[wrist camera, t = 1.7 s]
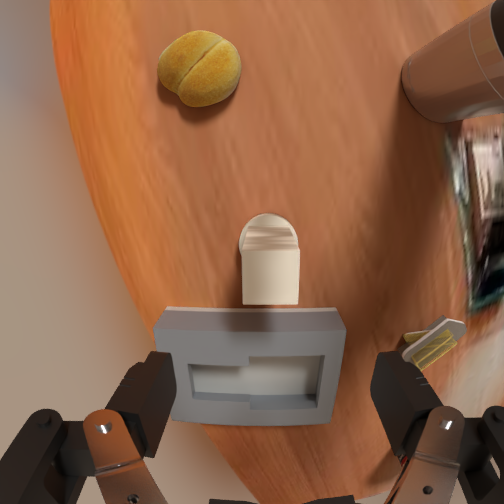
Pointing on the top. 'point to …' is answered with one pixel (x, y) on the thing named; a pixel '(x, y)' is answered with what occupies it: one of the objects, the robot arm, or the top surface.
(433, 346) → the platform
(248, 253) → the maple peg
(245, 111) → the top surface
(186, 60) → the bread roll
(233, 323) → the keyhole plate
